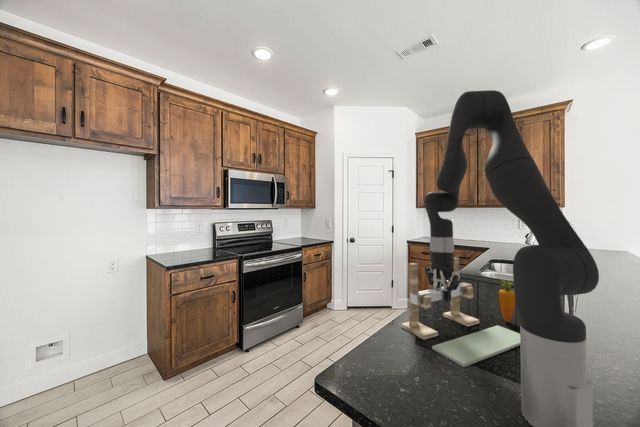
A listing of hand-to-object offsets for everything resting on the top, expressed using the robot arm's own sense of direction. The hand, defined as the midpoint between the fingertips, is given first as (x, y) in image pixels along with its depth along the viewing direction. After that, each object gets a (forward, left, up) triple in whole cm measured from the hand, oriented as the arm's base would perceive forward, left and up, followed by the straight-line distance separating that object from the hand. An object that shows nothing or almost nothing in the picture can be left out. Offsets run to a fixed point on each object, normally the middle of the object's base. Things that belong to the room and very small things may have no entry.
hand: (442, 299), depth 90 cm
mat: (-14, 0, -9) cm, 17 cm away
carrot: (-8, -22, -9) cm, 25 cm away
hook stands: (0, 0, -9) cm, 9 cm away
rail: (0, 0, +1) cm, 1 cm away
